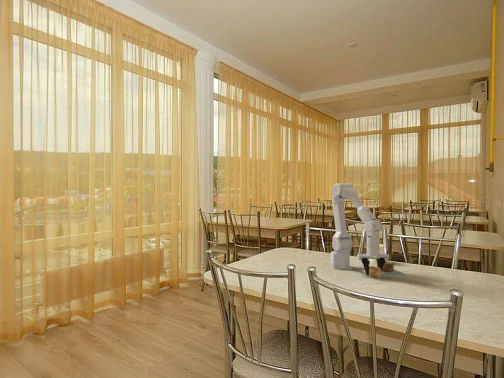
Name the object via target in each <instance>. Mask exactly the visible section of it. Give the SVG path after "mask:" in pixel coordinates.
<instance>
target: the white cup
mask: <svg viewBox="0 0 504 378" xmlns="http://www.w3.org/2000/svg"><path fill="white" fill-rule="evenodd" d="M384 246H385V245H384V244H380V254H384V250H385V249H384ZM368 261H370V263H372V264H377V260H376V259H368Z"/></svg>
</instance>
